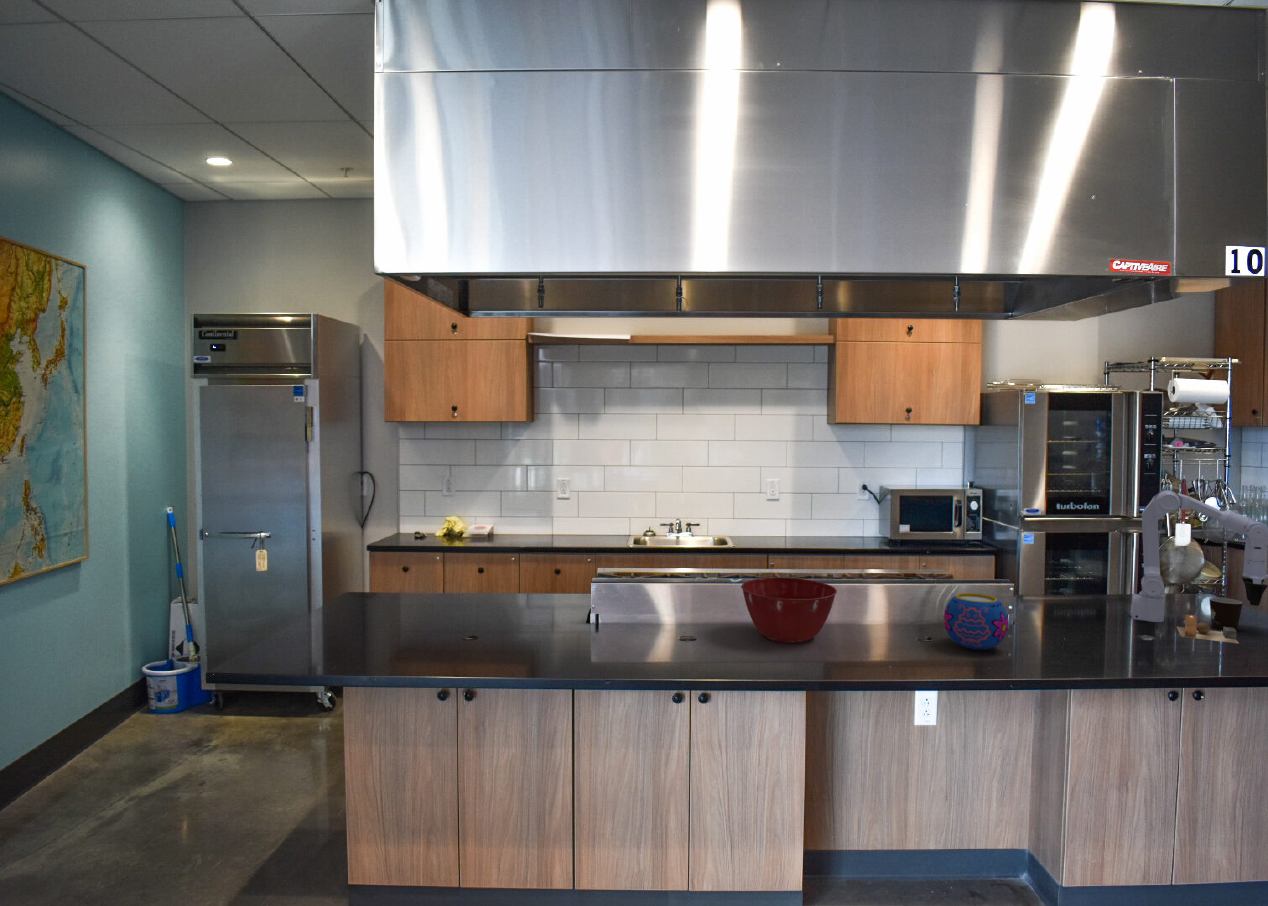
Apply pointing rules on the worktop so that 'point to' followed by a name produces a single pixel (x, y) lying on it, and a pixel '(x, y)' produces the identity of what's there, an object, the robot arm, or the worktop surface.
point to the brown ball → (1203, 627)
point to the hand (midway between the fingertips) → (1253, 602)
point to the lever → (1190, 625)
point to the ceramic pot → (976, 621)
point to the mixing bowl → (788, 607)
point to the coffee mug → (1225, 613)
